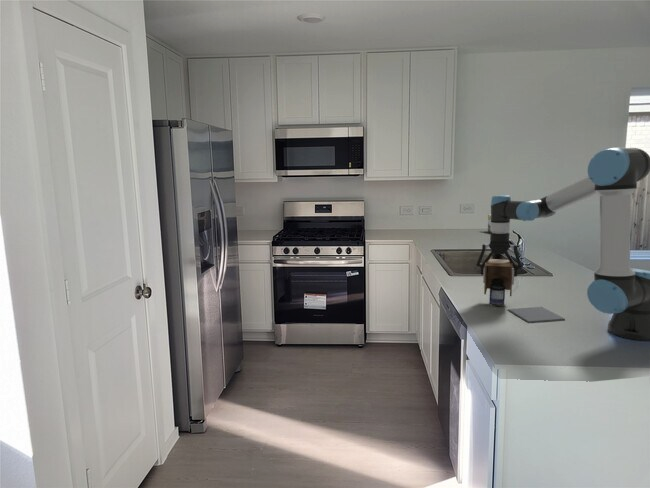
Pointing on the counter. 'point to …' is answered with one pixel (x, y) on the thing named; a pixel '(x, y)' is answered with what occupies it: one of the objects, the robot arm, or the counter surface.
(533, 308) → the mat
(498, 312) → the counter surface
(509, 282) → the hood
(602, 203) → the robot arm
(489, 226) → the snack box
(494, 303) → the pill bottle
